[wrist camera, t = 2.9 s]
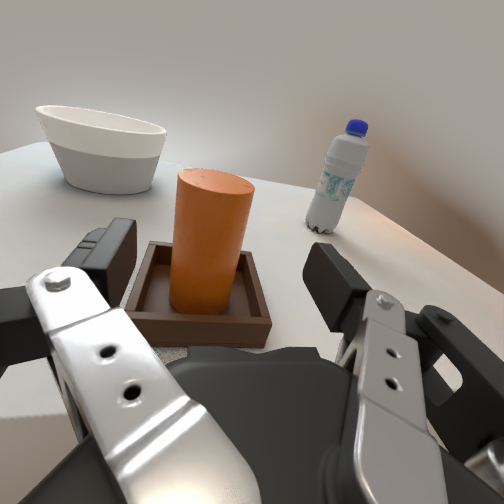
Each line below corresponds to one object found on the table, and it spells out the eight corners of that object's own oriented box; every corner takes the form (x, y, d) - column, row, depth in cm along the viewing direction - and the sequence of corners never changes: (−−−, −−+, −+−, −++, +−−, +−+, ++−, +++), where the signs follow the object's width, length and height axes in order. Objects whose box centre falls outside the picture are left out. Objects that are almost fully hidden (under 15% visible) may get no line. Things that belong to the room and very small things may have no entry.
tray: (264, 348, 22) (272, 324, 21) (121, 346, 20) (120, 318, 18) (246, 271, 32) (251, 251, 31) (149, 262, 29) (149, 240, 28)
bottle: (301, 218, 54) (337, 114, 45) (332, 226, 54) (374, 124, 44) (303, 230, 48) (344, 114, 39) (337, 239, 48) (386, 125, 39)
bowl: (177, 181, 57) (181, 130, 52) (135, 210, 40) (135, 138, 35) (93, 160, 56) (89, 106, 51) (15, 180, 40) (-4, 103, 34)
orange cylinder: (219, 325, 23) (246, 200, 17) (156, 306, 23) (163, 177, 17) (235, 287, 28) (260, 181, 22) (184, 272, 28) (195, 164, 23)
